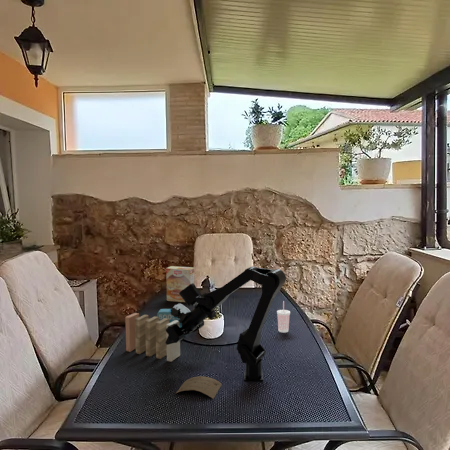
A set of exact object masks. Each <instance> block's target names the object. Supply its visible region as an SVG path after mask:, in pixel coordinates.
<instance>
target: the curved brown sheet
mask: <svg viewBox="0 0 450 450" xmlns="http://www.w3.org/2000/svg"><path fill="white" fill-rule="evenodd" d="M222 385H223V384H222V383H221V382H220V381H219V380H216V379H214V378H212V377H208V376H202V375H201V376H199V375H198V376H194V377H190V378H188V379H186V380H184V382H183V383H182V384H181V386H180V387H179V389H178V390H177V392H175V394H177V393H180V392H184V391H196V392H200V393H202V394H204V395H206V396H208V397H210V398H211V399H213V400H214V399H215V397H216V396H217V393H218V391H219V390H220V388H221V387H222Z"/></svg>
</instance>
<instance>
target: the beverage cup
mask: <svg viewBox="0 0 450 450" xmlns="http://www.w3.org/2000/svg"><path fill="white" fill-rule="evenodd" d="M276 314H277V329H278V332H279V333H288V332H289V327H290V315H291V311H290V310H288V309H285V301H284V300H283V302H282V309H278V310H276Z"/></svg>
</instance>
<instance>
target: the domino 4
mask: <svg viewBox="0 0 450 450" xmlns="http://www.w3.org/2000/svg"><path fill="white" fill-rule="evenodd" d="M172 324H177V325H178V326H179V327H180V322H179V321H178V320H175V321H173V322H171V323H169V324H167V325H166V329H167V328H168V326H170V325H172ZM166 338H168V333H167V332H166ZM180 356H181V340H180V341H179V342H177V343H172V344H168V345H167V355H166V362H173V361H174V360H176V359H178V358H179V357H180Z"/></svg>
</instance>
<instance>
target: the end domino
mask: <svg viewBox="0 0 450 450" xmlns="http://www.w3.org/2000/svg"><path fill="white" fill-rule="evenodd" d="M138 317H140V313H139V312H138V313H137V312H134V313H131V314H129V315H127V316H125V318H124V319H125V320H124V321H125V345H126V346H125V348H126V349H125V350H126V352H130V353H131V352H132V351H134V350H136V336H135V319H136V318H138Z"/></svg>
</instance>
